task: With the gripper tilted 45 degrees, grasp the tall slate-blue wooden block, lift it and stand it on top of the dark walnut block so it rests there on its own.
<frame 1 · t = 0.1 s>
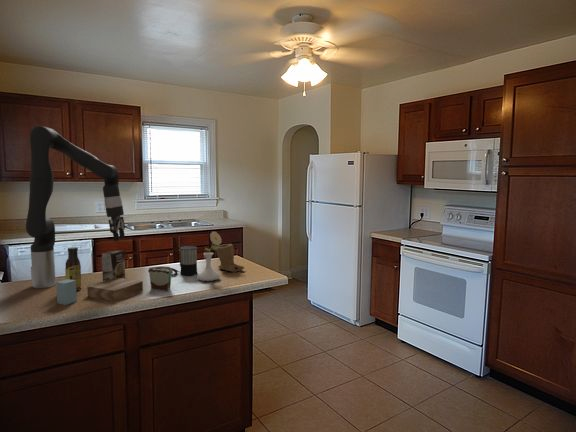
hand: (119, 239, 182), 22 cm above the table, tool pointing down, fingers open, 8 cm apart
sauce bottle: (73, 290, 175), on the table
food container: (163, 288, 178), on the table
coffee box: (114, 284, 185), on the table
flower in vase: (210, 280, 194), on the table
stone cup: (228, 270, 214), on the table
milk frother: (181, 275, 203), on the table
slate block: (67, 302, 158), on the table
walnut block: (116, 294, 170), on the table
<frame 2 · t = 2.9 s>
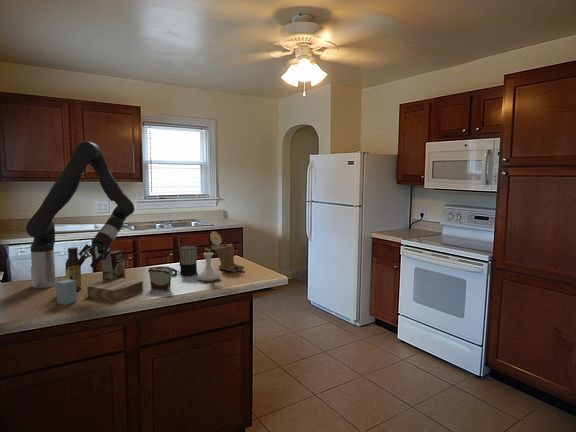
hand: (85, 266, 165), 13 cm above the table, tool tilted 45°, fingers open, 8 cm apart
nothing on the table moved.
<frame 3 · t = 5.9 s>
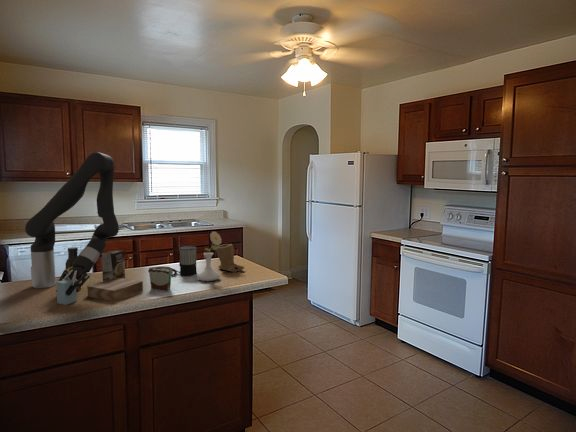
hand: (62, 293, 155), 4 cm above the table, tool tilted 45°, fingers closed on slate block, 5 cm apart
slate block: (67, 302, 158), on the table, touching gripper
everything else where it was.
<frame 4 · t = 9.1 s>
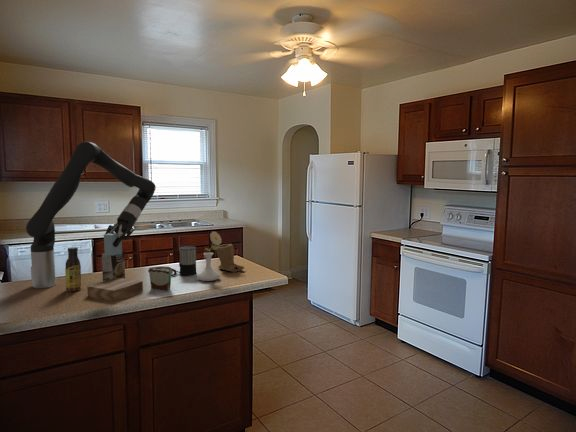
hand: (109, 245, 165), 22 cm above the table, tool tilted 45°, fingers closed on slate block, 5 cm apart
slate block: (113, 254, 167), point 18 cm above the table, touching gripper
everything else where it was.
when the fingers open (11 cm above the table, at t = 12.4 s): slate block drops 2 cm, point 5 cm above the table.
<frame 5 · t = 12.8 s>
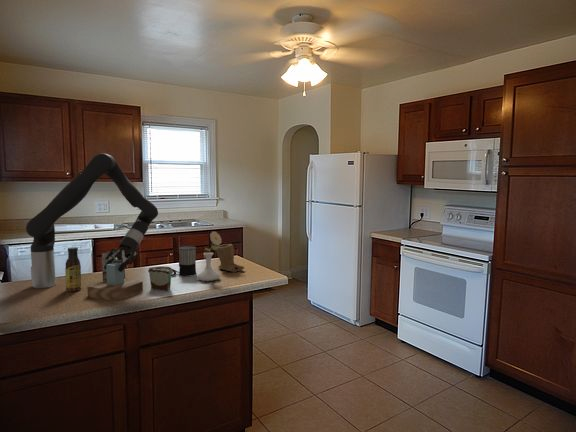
hand: (112, 270, 167), 11 cm above the table, tool tilted 45°, fingers open, 8 cm apart
slate block: (115, 283, 169), point 5 cm above the table
everything else where it was.
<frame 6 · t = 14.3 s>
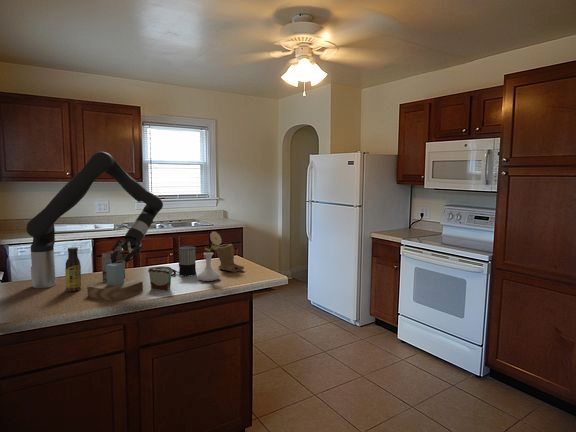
hand: (118, 260, 170), 15 cm above the table, tool tilted 45°, fingers open, 8 cm apart
slate block: (115, 283, 169), point 4 cm above the table, touching walnut block
walnut block: (116, 294, 170), on the table, touching slate block
everything else where it was.
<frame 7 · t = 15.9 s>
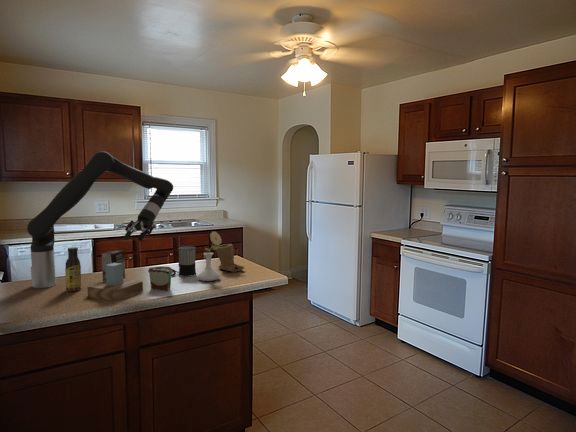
hand: (132, 239, 177), 23 cm above the table, tool tilted 45°, fingers open, 8 cm apart
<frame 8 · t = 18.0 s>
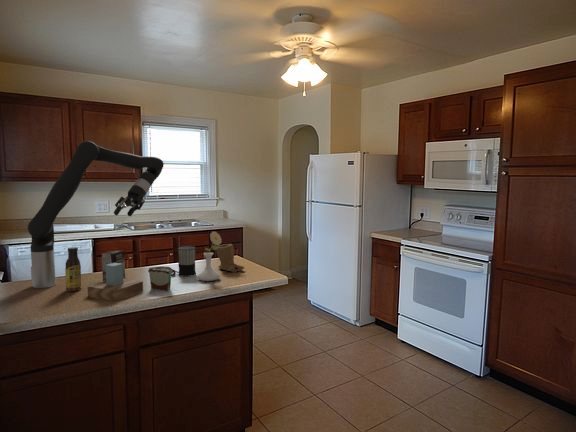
hand: (121, 214, 177), 35 cm above the table, tool tilted 45°, fingers open, 8 cm apart
slate block: (115, 283, 169), point 5 cm above the table
walnut block: (116, 294, 170), on the table
at the end: slate block inside the target area on the walnut block (0.4 cm from its centre), point 5.0 cm above the walnut block's base; slate block tilted 0°; the gripper is holding nothing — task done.
